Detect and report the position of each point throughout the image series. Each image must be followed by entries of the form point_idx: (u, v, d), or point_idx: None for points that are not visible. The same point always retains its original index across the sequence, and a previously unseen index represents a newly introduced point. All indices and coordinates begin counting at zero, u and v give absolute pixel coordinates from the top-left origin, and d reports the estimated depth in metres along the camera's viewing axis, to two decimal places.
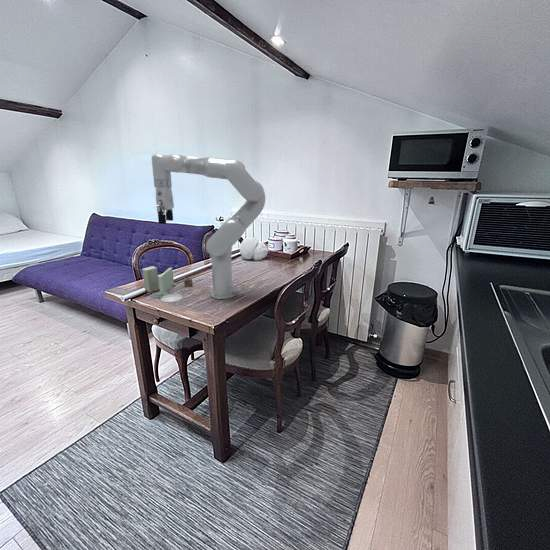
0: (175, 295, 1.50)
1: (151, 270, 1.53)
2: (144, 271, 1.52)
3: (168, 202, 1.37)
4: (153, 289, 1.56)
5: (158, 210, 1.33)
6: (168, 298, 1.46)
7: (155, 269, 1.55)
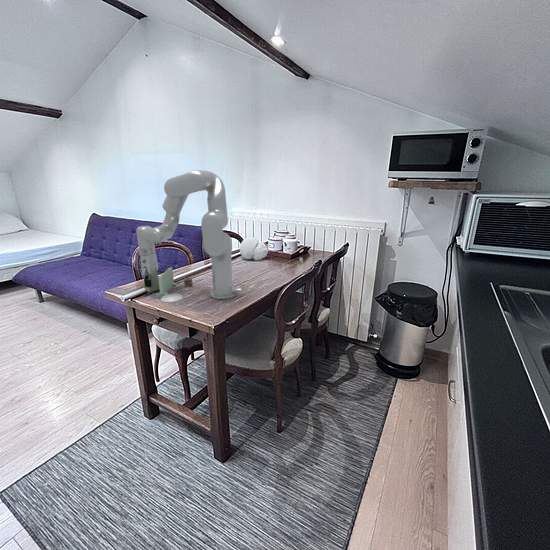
0: (175, 295, 1.50)
1: None
2: None
3: (152, 267, 1.51)
4: (153, 289, 1.56)
5: (144, 277, 1.49)
6: (168, 298, 1.46)
7: (155, 269, 1.55)
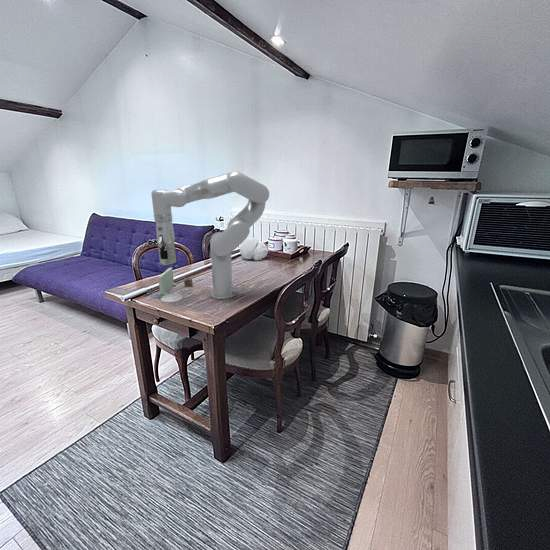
0: (175, 295, 1.50)
1: None
2: None
3: (169, 236, 1.35)
4: (169, 262, 1.40)
5: (160, 247, 1.32)
6: (168, 298, 1.46)
7: None
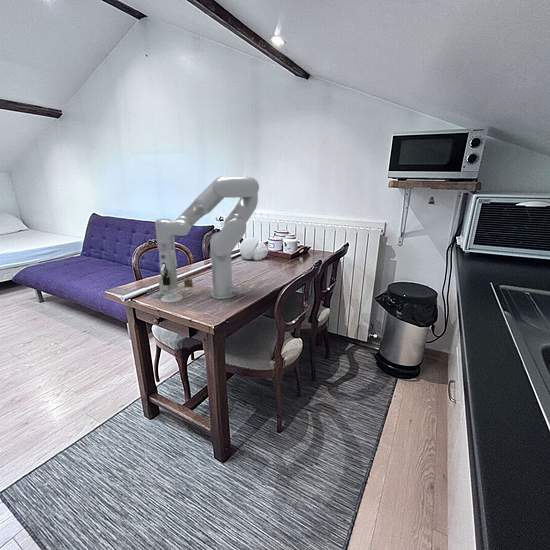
0: (175, 295, 1.50)
1: None
2: None
3: (171, 264, 1.39)
4: (171, 287, 1.44)
5: (162, 274, 1.36)
6: (168, 298, 1.46)
7: (174, 266, 1.42)
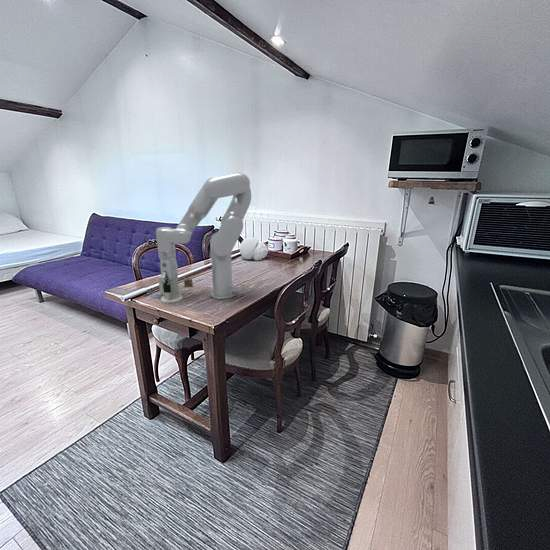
0: None
1: None
2: None
3: (172, 272, 1.40)
4: (173, 297, 1.45)
5: (163, 282, 1.37)
6: None
7: (175, 275, 1.44)
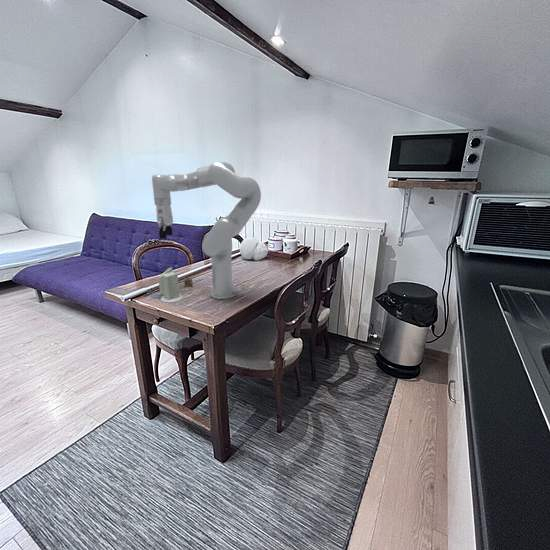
0: None
1: (171, 276, 1.42)
2: (164, 277, 1.41)
3: (168, 219, 1.46)
4: (173, 297, 1.45)
5: (159, 227, 1.42)
6: None
7: (175, 275, 1.44)
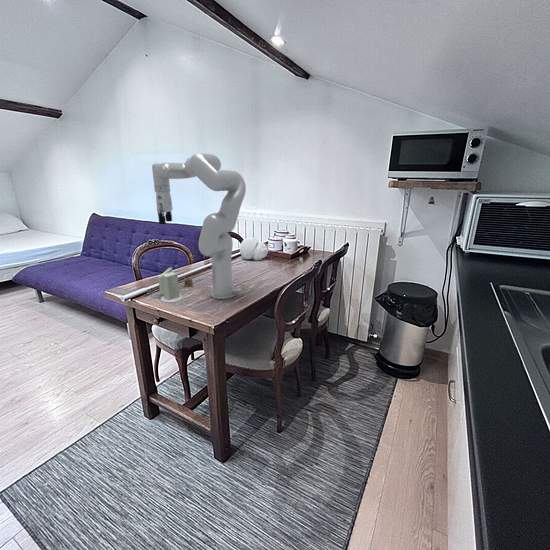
0: None
1: (171, 276, 1.42)
2: (164, 277, 1.41)
3: (167, 205, 1.54)
4: (173, 297, 1.45)
5: (158, 212, 1.50)
6: None
7: (175, 275, 1.44)
